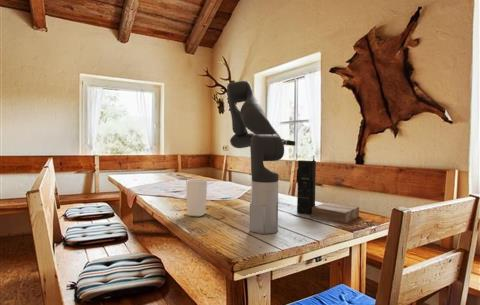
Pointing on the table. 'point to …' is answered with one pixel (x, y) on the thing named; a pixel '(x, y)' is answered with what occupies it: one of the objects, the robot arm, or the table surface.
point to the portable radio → (306, 186)
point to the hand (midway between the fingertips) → (289, 143)
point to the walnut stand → (335, 212)
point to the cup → (196, 196)
